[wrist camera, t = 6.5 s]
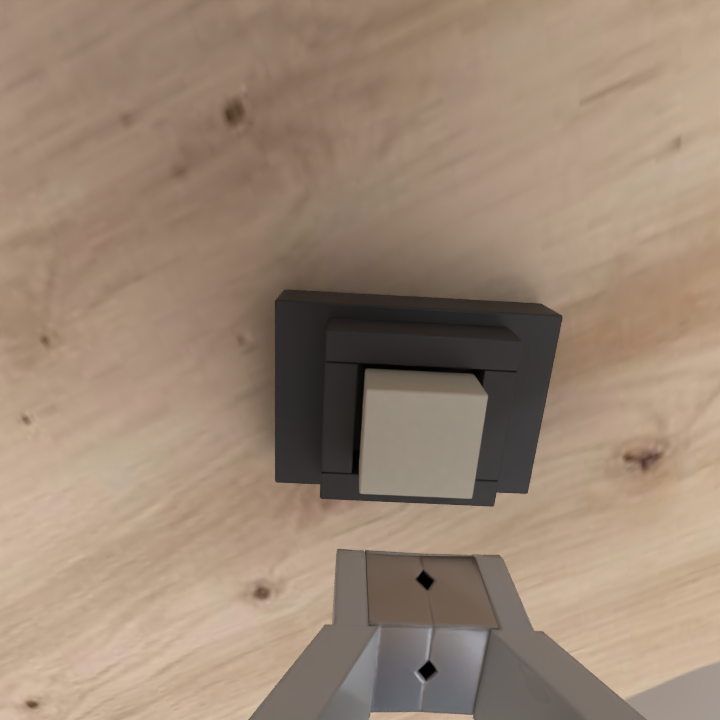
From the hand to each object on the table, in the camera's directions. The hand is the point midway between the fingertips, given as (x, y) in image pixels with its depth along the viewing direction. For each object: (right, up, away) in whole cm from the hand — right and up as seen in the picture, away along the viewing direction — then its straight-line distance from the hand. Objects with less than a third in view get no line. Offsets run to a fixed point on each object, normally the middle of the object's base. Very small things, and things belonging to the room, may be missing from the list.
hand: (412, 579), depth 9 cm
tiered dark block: (+1, +3, +13) cm, 13 cm away
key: (+1, +2, +9) cm, 9 cm away
